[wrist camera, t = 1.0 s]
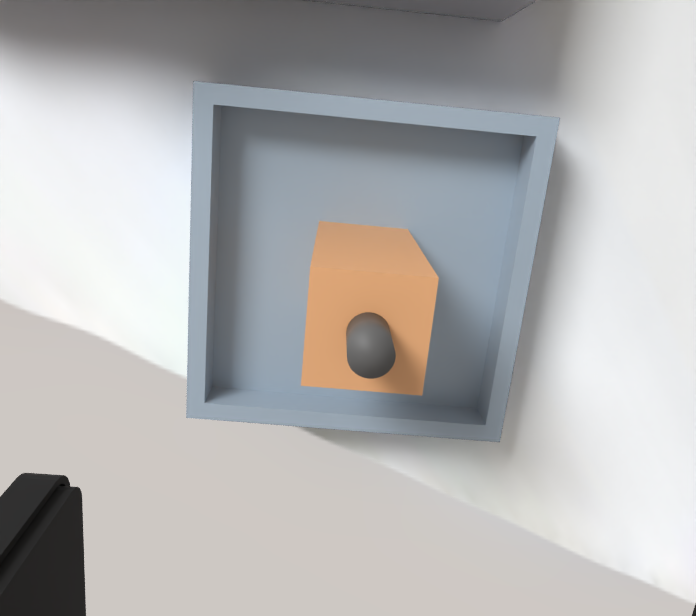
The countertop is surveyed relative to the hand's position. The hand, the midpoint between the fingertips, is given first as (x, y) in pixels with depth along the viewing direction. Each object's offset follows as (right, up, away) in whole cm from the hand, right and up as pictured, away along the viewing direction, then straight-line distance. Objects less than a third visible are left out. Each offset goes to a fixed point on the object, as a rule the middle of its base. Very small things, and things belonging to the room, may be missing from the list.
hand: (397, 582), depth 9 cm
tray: (0, +6, +20) cm, 21 cm away
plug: (0, +6, +19) cm, 20 cm away
